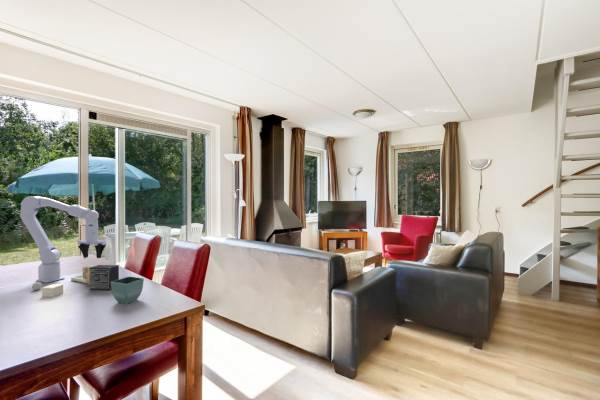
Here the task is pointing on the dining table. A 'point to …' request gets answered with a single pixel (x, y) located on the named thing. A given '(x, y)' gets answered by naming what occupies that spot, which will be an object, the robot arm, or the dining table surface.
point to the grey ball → (37, 286)
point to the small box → (103, 276)
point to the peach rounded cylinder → (88, 279)
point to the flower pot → (127, 289)
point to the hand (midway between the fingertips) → (92, 257)
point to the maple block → (86, 271)
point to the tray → (79, 279)
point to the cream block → (52, 290)
